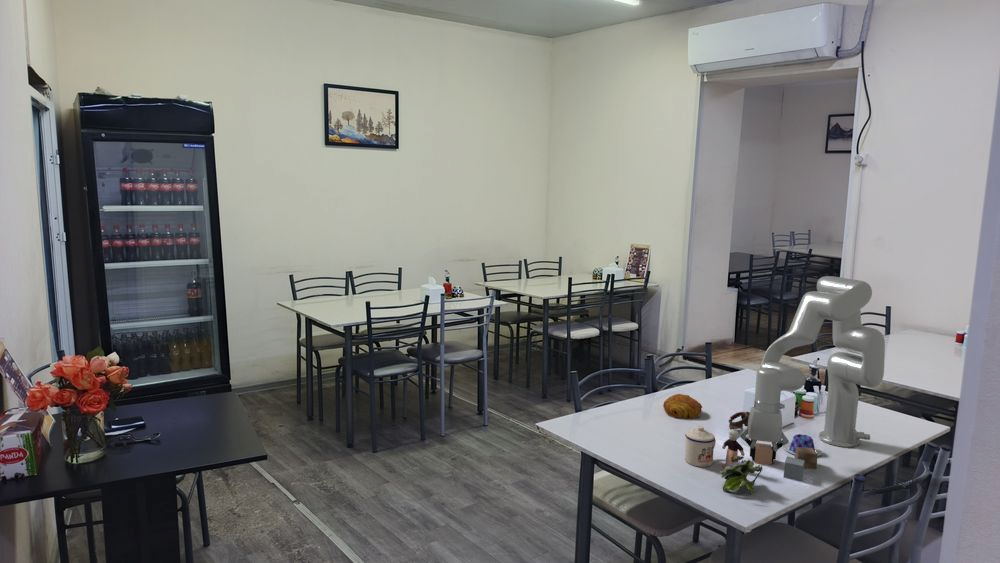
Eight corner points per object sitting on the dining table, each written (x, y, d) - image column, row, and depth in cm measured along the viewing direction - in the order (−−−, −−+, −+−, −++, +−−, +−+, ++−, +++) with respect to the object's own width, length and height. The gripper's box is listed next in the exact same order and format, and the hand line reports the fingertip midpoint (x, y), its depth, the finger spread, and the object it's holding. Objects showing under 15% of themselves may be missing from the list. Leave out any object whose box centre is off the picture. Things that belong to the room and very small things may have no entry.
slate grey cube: (803, 475, 198) (804, 460, 197) (801, 481, 193) (802, 466, 193) (785, 471, 200) (786, 456, 199) (783, 477, 196) (784, 462, 195)
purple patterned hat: (778, 443, 223) (779, 428, 222) (815, 446, 221) (816, 431, 220) (788, 457, 211) (789, 442, 210) (826, 460, 209) (828, 445, 208)
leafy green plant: (733, 500, 192) (749, 463, 195) (760, 510, 182) (777, 472, 185) (707, 483, 189) (723, 446, 192) (733, 493, 179) (750, 454, 182)
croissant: (657, 419, 249) (657, 400, 247) (672, 403, 261) (672, 385, 259) (694, 427, 241) (694, 407, 239) (707, 410, 253) (707, 391, 251)
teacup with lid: (700, 470, 200) (702, 434, 198) (677, 459, 207) (679, 425, 206) (725, 461, 206) (727, 427, 205) (702, 451, 214) (704, 418, 212)
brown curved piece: (759, 440, 226) (748, 420, 225) (733, 445, 231) (723, 426, 230) (763, 421, 235) (753, 402, 235) (739, 427, 241) (729, 408, 240)
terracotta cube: (769, 458, 209) (770, 444, 208) (771, 465, 204) (772, 450, 204) (753, 456, 210) (754, 442, 210) (754, 463, 206) (755, 448, 205)
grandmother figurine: (717, 466, 203) (719, 428, 201) (722, 462, 206) (725, 425, 204) (741, 474, 198) (744, 434, 196) (746, 470, 200) (749, 431, 198)
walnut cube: (810, 462, 207) (811, 447, 206) (816, 469, 202) (817, 454, 201) (794, 461, 208) (795, 446, 207) (799, 468, 203) (801, 453, 202)
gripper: (793, 405, 206) (788, 458, 209) (737, 399, 210) (733, 452, 213) (797, 413, 199) (792, 468, 201) (739, 407, 203) (735, 461, 206)
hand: (762, 459), depth 207 cm, fingers closed on terracotta cube, 5 cm apart
